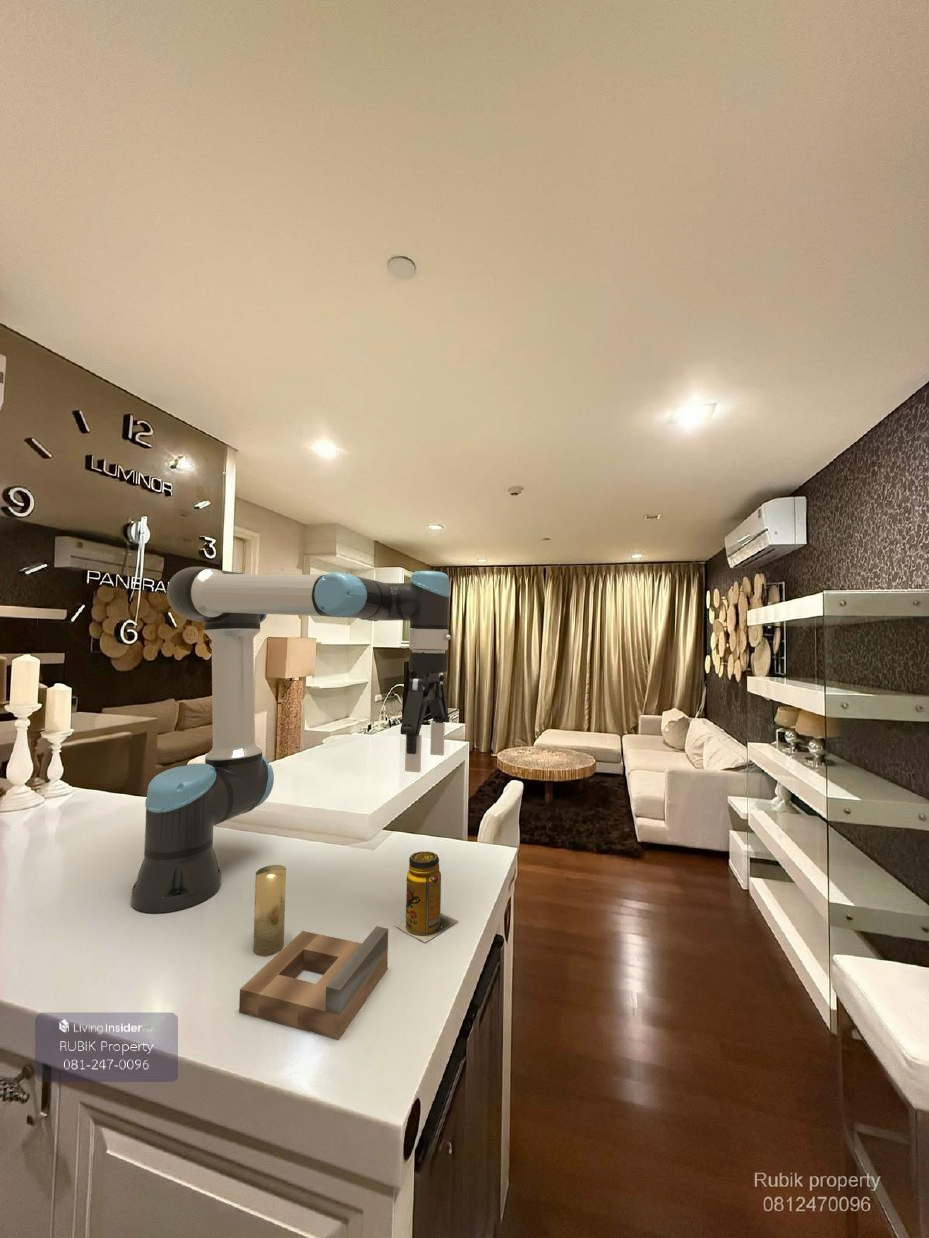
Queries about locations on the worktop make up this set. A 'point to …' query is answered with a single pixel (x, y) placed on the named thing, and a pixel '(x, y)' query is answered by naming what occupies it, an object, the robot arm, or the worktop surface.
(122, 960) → the worktop surface
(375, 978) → the jig
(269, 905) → the brass cylinder
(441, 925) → the condiment
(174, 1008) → the worktop surface
